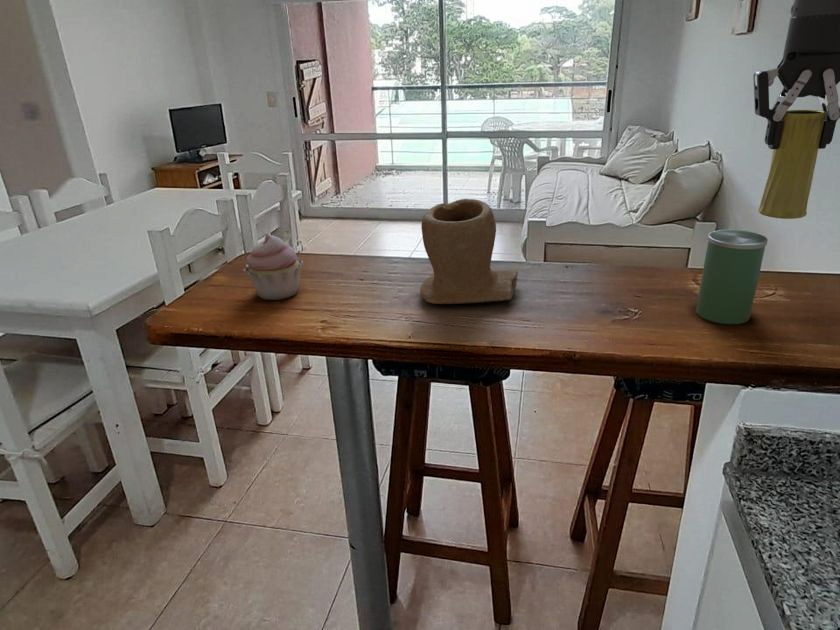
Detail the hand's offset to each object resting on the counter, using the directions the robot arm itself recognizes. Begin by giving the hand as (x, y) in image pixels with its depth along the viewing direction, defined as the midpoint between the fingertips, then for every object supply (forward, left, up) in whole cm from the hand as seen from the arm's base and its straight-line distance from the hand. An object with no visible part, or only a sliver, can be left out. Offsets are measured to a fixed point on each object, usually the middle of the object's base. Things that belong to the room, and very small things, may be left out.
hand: (796, 147), depth 80 cm
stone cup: (+44, +14, -20) cm, 51 cm away
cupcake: (+75, +16, -20) cm, 79 cm away
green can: (+9, +14, -20) cm, 26 cm away
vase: (0, 0, -10) cm, 10 cm away
